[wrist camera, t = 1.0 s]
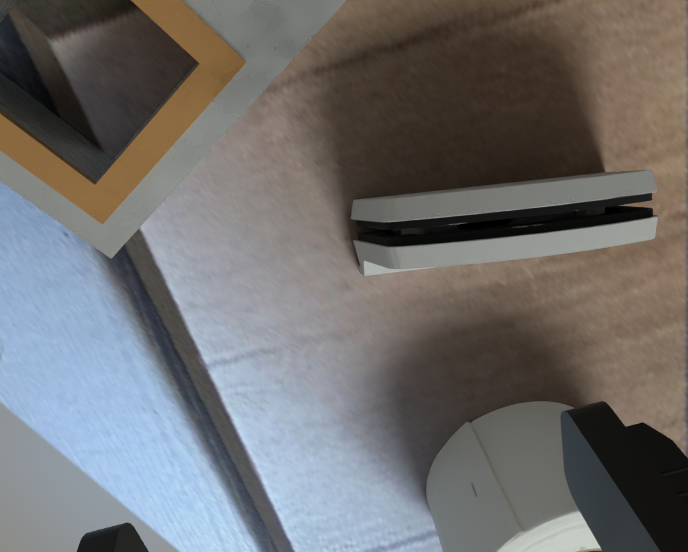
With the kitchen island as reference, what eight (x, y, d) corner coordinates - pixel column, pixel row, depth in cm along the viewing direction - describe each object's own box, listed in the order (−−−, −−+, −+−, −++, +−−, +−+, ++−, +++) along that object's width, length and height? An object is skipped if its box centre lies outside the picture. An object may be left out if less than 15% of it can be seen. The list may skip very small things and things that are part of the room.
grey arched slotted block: (353, 273, 39) (379, 299, 30) (346, 199, 39) (369, 201, 29) (598, 243, 41) (700, 258, 31) (595, 172, 40) (698, 165, 31)
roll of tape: (401, 441, 47) (440, 563, 37) (592, 372, 46) (680, 478, 37) (450, 561, 54) (493, 689, 45) (616, 503, 54) (694, 619, 44)
